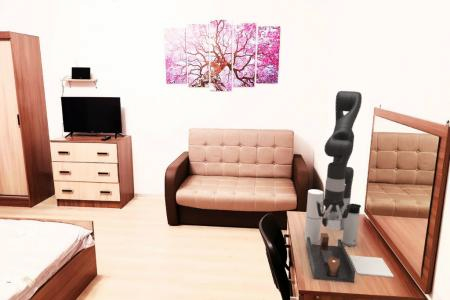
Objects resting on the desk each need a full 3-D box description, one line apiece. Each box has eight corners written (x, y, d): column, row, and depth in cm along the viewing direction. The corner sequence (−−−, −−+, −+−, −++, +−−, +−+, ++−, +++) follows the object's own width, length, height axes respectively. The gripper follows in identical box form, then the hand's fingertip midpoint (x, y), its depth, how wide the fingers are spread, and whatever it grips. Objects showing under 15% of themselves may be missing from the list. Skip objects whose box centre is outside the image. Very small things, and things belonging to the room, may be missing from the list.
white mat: (349, 256, 147) (349, 255, 147) (381, 259, 145) (382, 258, 145) (357, 274, 133) (357, 273, 133) (393, 277, 132) (393, 276, 131)
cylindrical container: (303, 241, 160) (307, 193, 154) (305, 235, 166) (309, 188, 161) (318, 244, 157) (322, 195, 152) (320, 238, 163) (324, 190, 158)
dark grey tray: (306, 246, 155) (307, 231, 153) (339, 249, 153) (341, 234, 151) (313, 278, 130) (315, 261, 128) (353, 282, 128) (355, 265, 126)
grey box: (323, 219, 142) (324, 210, 141) (335, 220, 142) (336, 210, 141) (327, 229, 134) (328, 218, 133) (339, 230, 133) (340, 219, 132)
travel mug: (357, 247, 155) (362, 207, 151) (343, 245, 156) (347, 206, 152) (355, 241, 161) (359, 203, 157) (341, 239, 162) (345, 201, 158)
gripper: (350, 186, 137) (346, 223, 141) (315, 184, 139) (312, 221, 142) (355, 192, 130) (351, 231, 133) (318, 189, 131) (315, 228, 135)
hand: (331, 226), depth 138 cm, fingers closed on grey box, 5 cm apart
